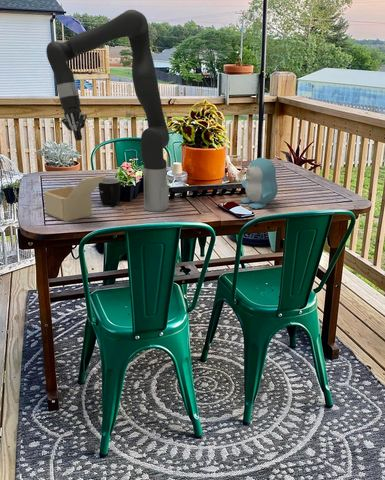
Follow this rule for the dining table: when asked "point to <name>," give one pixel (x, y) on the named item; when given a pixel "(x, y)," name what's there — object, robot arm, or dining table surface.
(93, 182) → the front flap
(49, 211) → the carton
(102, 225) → the dining table surface
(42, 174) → the dining table surface
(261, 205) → the toy
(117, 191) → the mug
